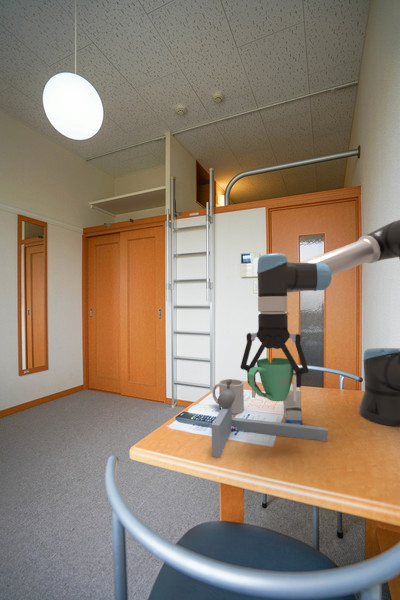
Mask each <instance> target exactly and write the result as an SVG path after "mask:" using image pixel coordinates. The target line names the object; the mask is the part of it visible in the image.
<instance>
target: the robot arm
mask: <svg viewBox="0 0 400 600" xmlns="http://www.w3.org/2000/svg"><path fill="white" fill-rule="evenodd" d="M395 258H398V259H399V261H400V219H398V220H394V221H392V222H390V223H387V224H385V225H384V226H383V225H382V226H381V227H380V228H377V229H376V230H374V231H371V232H370V233H367V234H365V235H362V236H360V237H359V238H358V239H357V241H355V242H352V243H349V244H347V245H343V246H341V247H338V248H336V249H333V250H330V251H328V252H325V253H322V254H320V255H317V256H314V257H312V258H309V259H307V260H304V261H300V262H290V261H288V258H287V255H286V254H284V253H279V252H278V253H273V252H272V253H266V254H262V255H260V256H259V257H258V260H257V270H256V271H257V273H256V274H257V309H258V310H257V311H258V312H260V313H259V314H258V316H257V318H258V319H257V322H258V326H257V327H258V330H257V332H248V333H246V344H245V349H244V353H243V356H242V359H241V363H240V369H241V370H244V371H246V373H247V384H248V385H249V380H248V372H249V370H250V368H253V367H256V365H257V361H258V360H260V359H259V358H260V357H261V356H262V354H263V352H264V350H265V348H266V349H268V350H270V349H276V350H278V349H281V350H282V352H283V354H284V355H285V357H286V359H288V361H289V362H290V364H291V366H292V367H293V369H294V372H293V378H292V384H293V401H297V391H296V387H299V388H301V387H302V375H303V374H308V373H309V368H308V364H307V361H306V358H305V355H304V352H303V348H302V345H301V338H302V337H301V333H290V332H289V327H288V326H289V325H288V323H289V322H288V319H289V318H288V315H287V313H286V312H288V293H294V292H309V291H312V292H317V291H326V289H328V288H329V287H330V285H331V282H332V276H334V275H337V274H339V273H342V272H344V271H347V270H350V269H352V268H355V267H357V266H360V265H362V264H373V263H376V262H380V261H383V260H384V261H385V260H388V259H395ZM256 338H257V339H258V340H259V341H260V343H261V344H260V345H259V347H258V349H257V351H256V353H255V355H254V357H253V358H252V360H251V361H250V364H248V361H249V356H250V353H251V349H252V345H253V342H254V341H255V340H256ZM289 339H291V341H292V342H293V343H294V344H295V348H296V352H297V354H298V357H299V361H300V364H301V367H299V366H298V363H297V362H296V361H295V357H293V355H292V353H291V352H290V350H289V349H288V347H287V345H286V343H287V342H288V340H289ZM362 361H363V377H364V393H363V395H362V398H361V400H360V404H359V414H360V415H361V417H363V418H365V419H366V420H369V421H371V422H374V423H377V424H381V425H384V426H385V425H387V426H392V427H400V347H398V348H397V347H393V348H392V347H382V348H380V347H379V348H378V347H377V348H367V349H366V350H365V351H364V353H363V360H362ZM256 394H257V393H256V392H255V391H254V390H253V389H252V388H251V398H253V399H254V398H256Z"/></svg>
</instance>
